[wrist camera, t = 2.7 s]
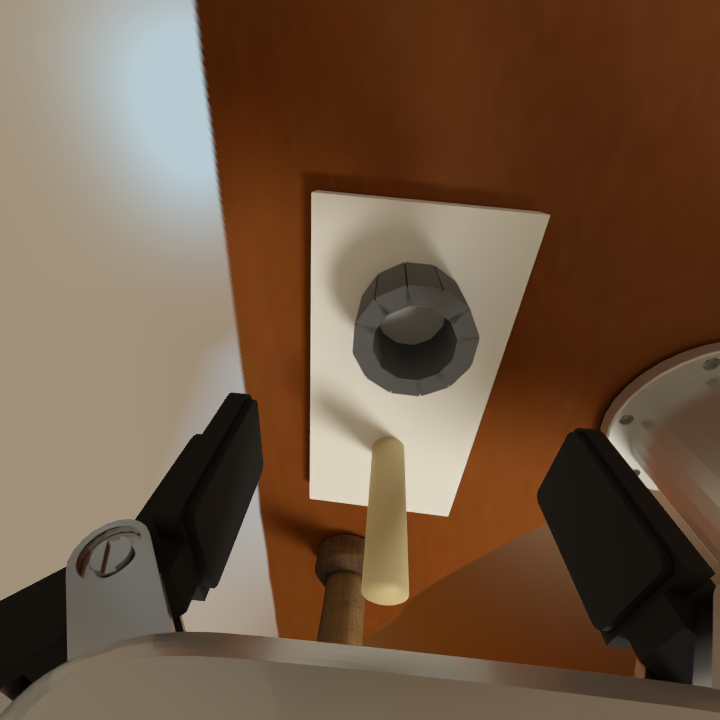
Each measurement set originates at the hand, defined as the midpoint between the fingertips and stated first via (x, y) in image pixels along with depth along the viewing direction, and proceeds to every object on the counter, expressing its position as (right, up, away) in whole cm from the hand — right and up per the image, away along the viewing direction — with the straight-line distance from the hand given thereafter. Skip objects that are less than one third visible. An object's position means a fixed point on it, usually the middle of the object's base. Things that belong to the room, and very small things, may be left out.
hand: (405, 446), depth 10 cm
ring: (+2, +5, +10) cm, 11 cm away
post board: (+1, +1, +14) cm, 14 cm away
